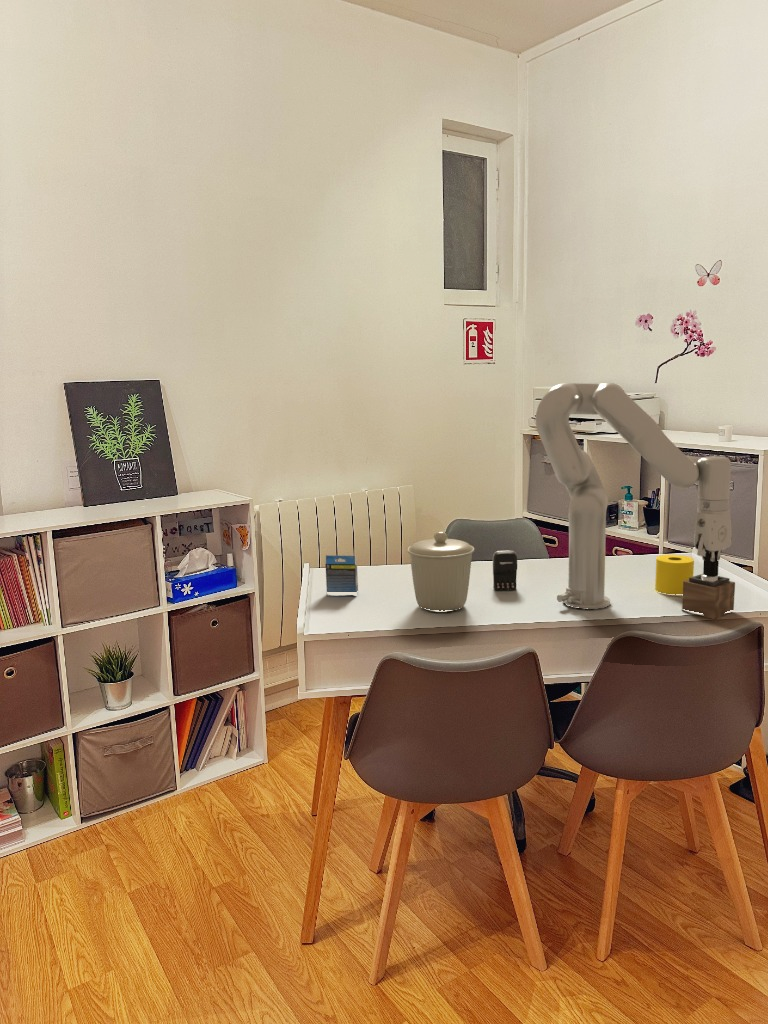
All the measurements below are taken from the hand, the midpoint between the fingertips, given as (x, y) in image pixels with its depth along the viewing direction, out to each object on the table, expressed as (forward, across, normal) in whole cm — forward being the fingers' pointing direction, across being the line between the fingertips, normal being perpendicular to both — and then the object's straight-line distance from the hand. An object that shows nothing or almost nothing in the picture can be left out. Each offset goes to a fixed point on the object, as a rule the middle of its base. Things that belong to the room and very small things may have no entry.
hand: (710, 575), depth 206 cm
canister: (+9, -50, +48) cm, 70 cm away
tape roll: (+10, +10, +17) cm, 22 cm away
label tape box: (+9, -64, +76) cm, 100 cm away
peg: (+8, 0, 0) cm, 8 cm away
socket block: (+10, 0, 0) cm, 10 cm away
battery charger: (+9, -25, +49) cm, 56 cm away
